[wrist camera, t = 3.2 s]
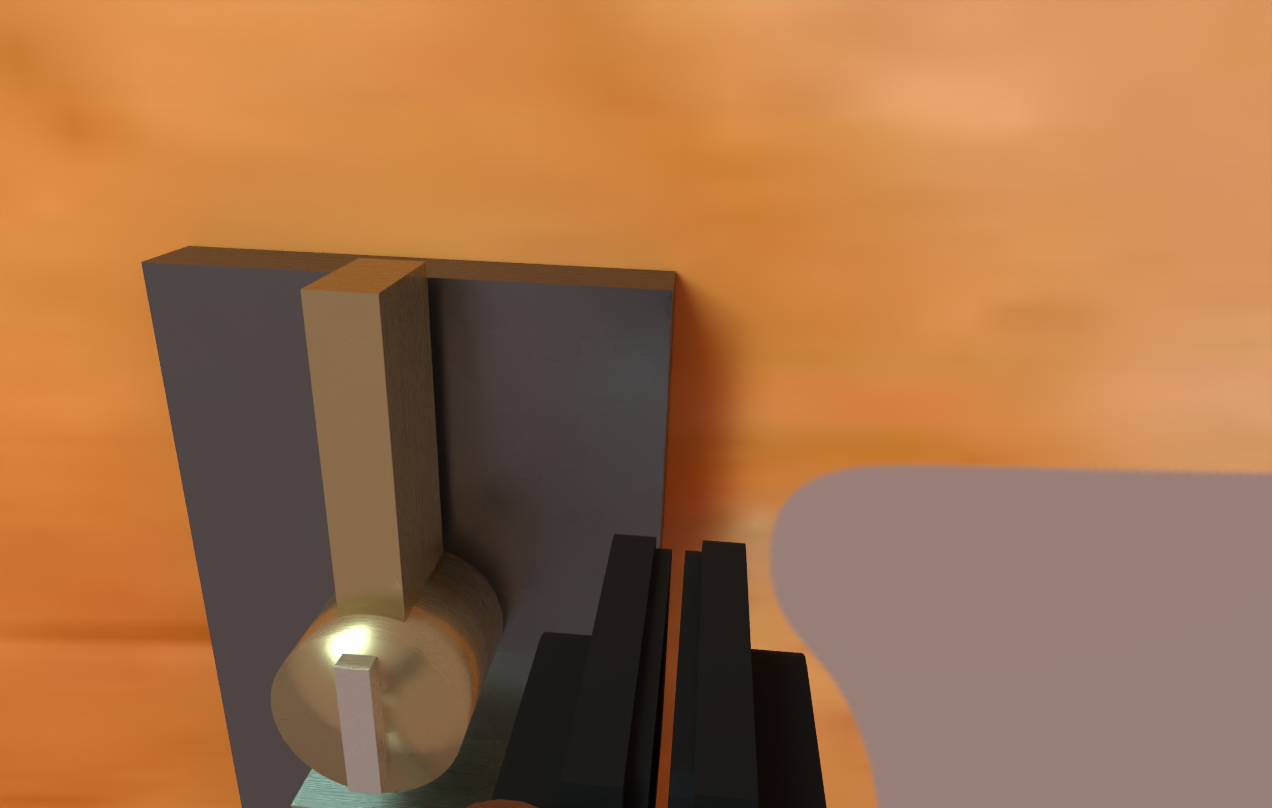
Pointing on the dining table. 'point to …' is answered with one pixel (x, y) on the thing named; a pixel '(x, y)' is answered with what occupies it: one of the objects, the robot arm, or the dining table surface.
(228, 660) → the plate
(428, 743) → the lever handle
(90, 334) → the dining table surface
